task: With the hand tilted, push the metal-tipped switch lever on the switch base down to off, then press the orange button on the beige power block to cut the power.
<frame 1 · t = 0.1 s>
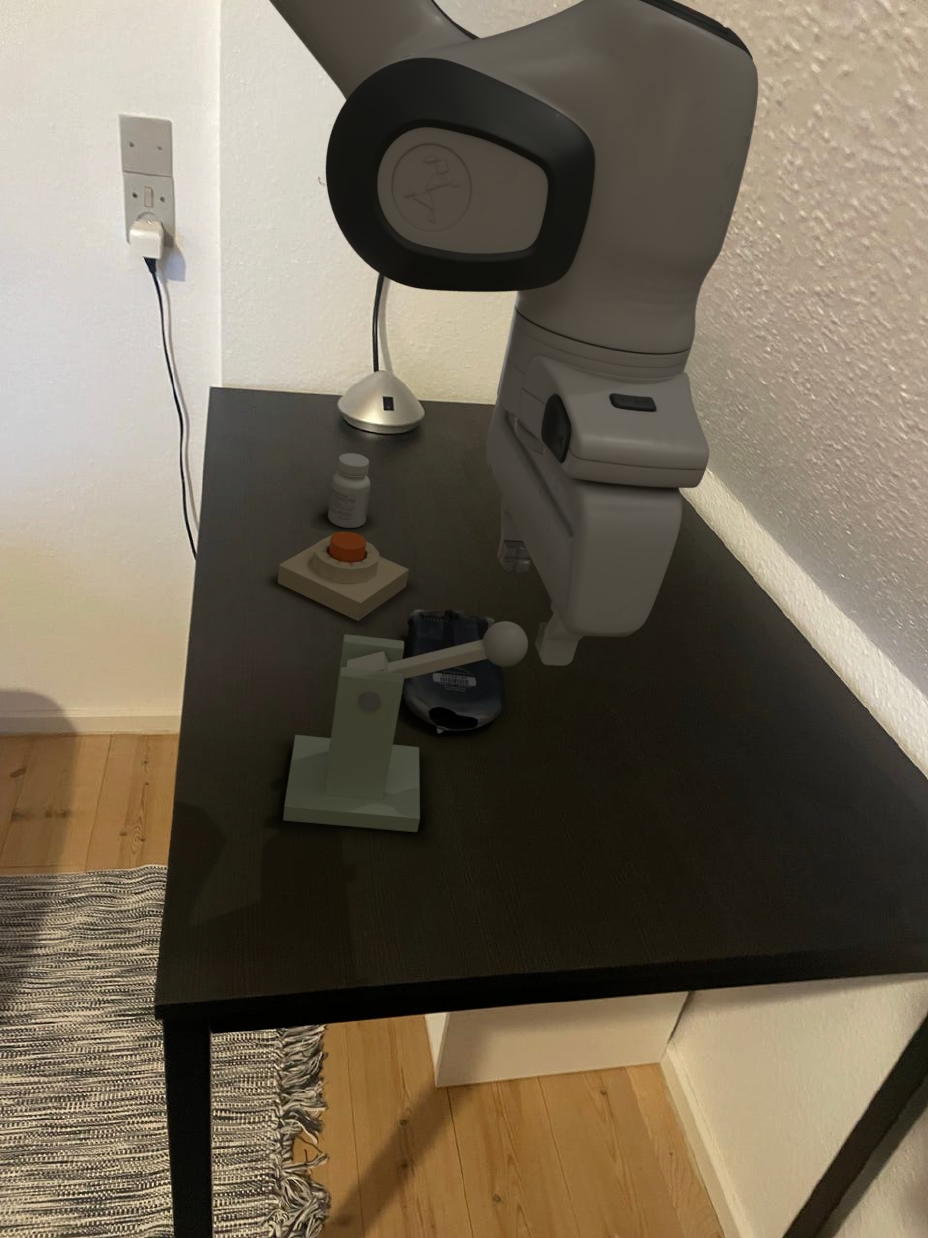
hand: (530, 609, 55), 24 cm above the table, tool pointing down, fingers open, 8 cm apart
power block: (343, 585, 98), on the table
power button: (347, 547, 96), point 4 cm above the table, slide at 0.1 cm
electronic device: (449, 685, 87), on the table
pill bottle: (346, 521, 110), on the table
switch lever: (438, 660, 67), point 13 cm above the table, hinge at 25.0°
switch base: (353, 789, 74), on the table
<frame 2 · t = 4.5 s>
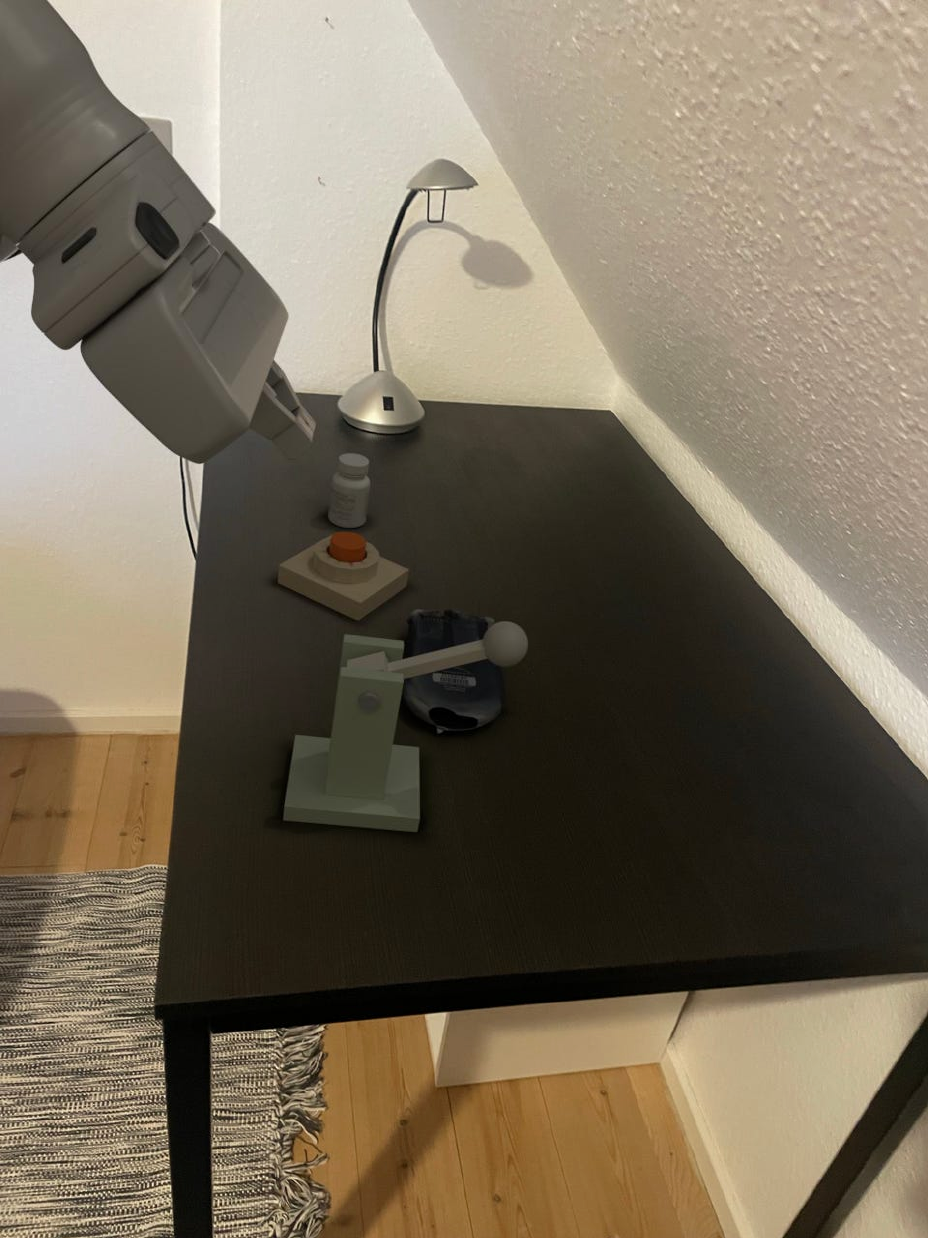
hand: (305, 444, 55), 29 cm above the table, tool tilted 45°, fingers closed
nothing on the table moved.
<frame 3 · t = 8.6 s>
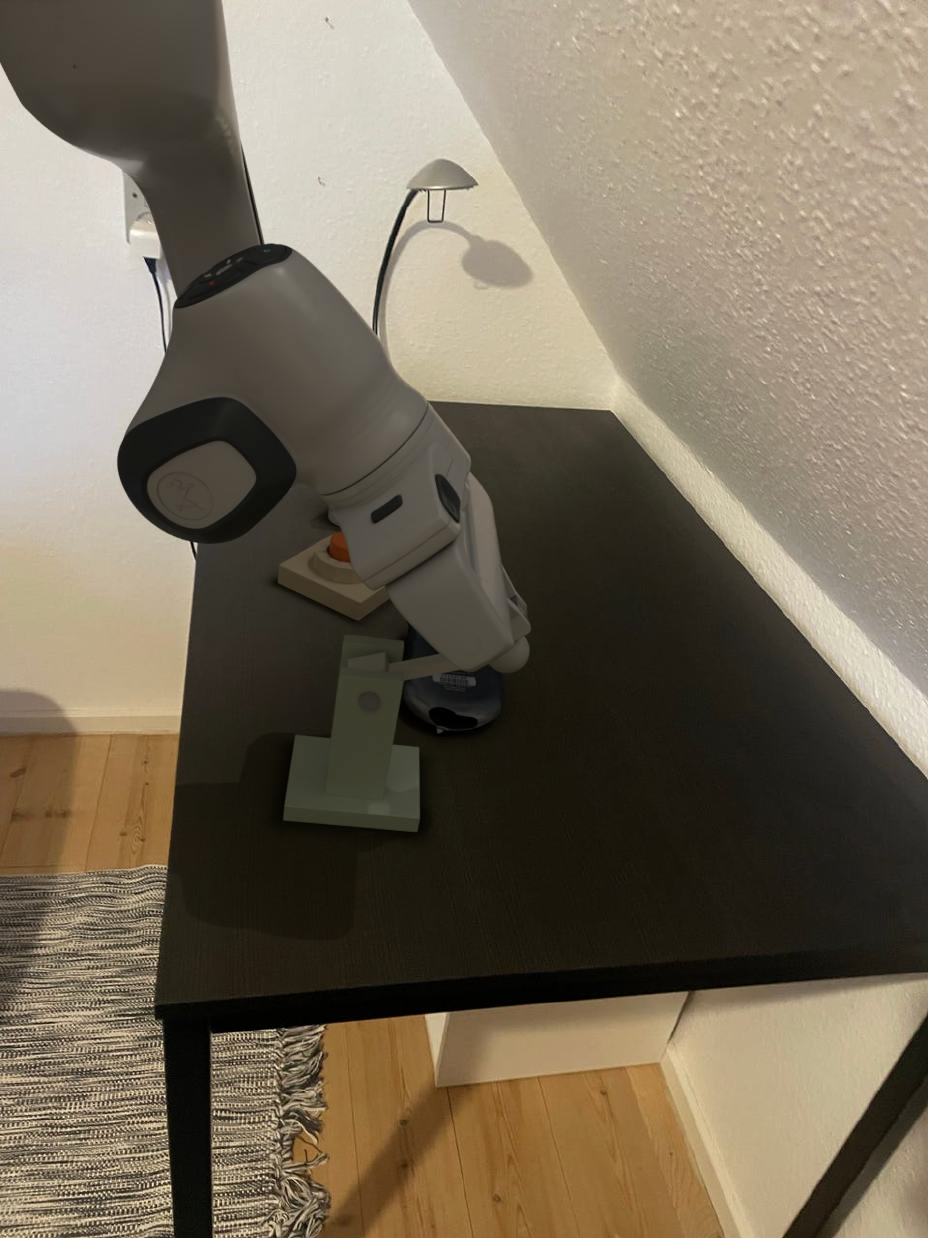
hand: (520, 625, 66), 17 cm above the table, tool tilted 45°, fingers closed, pressing on switch lever
switch lever: (439, 663, 67), point 13 cm above the table, hinge at 21.6°, touching gripper
everything else where it was.
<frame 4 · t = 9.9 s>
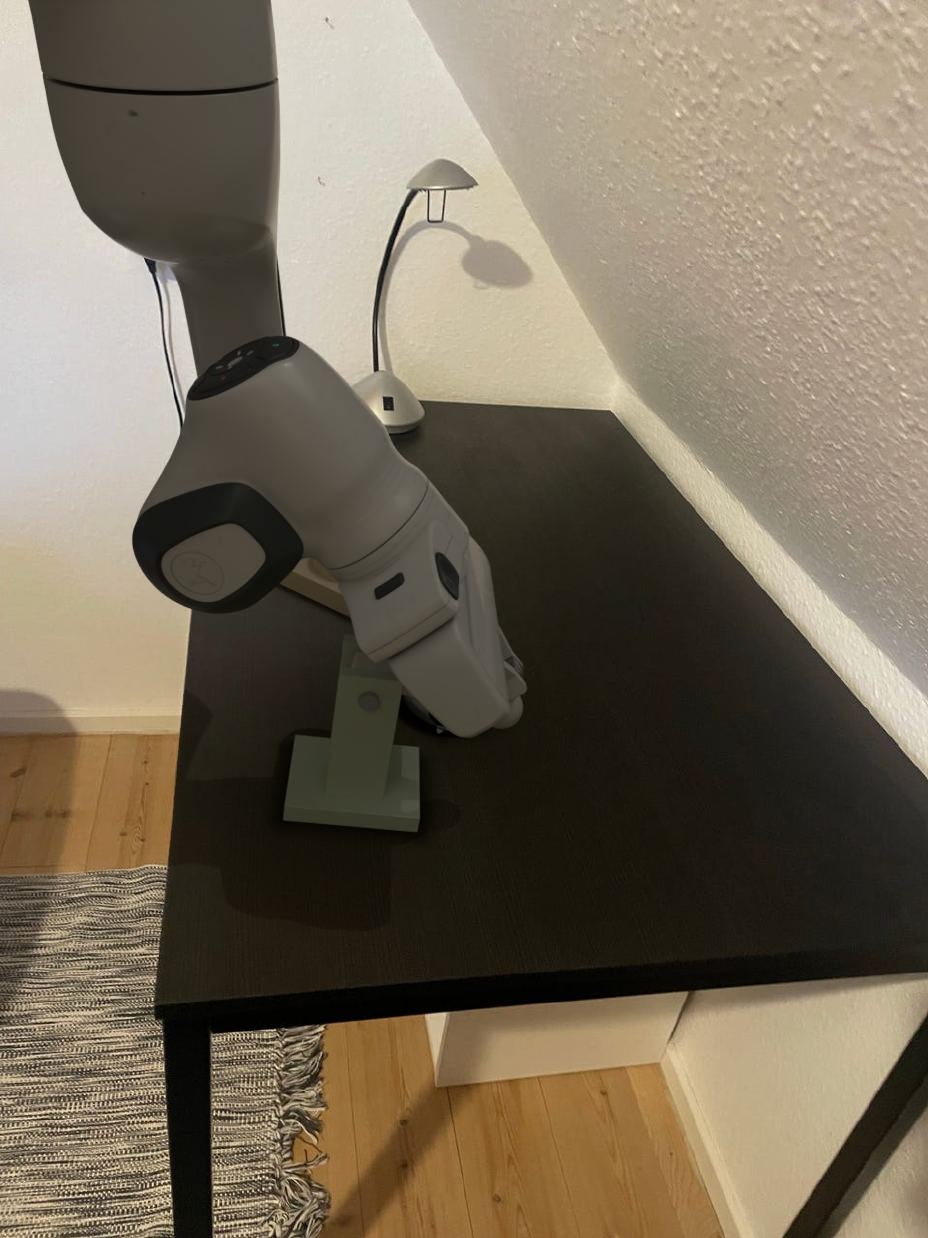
hand: (517, 684, 69), 12 cm above the table, tool tilted 45°, fingers closed, pressing on switch lever
switch lever: (438, 692, 69), point 10 cm above the table, hinge at -8.1°, touching gripper
everything else where it was.
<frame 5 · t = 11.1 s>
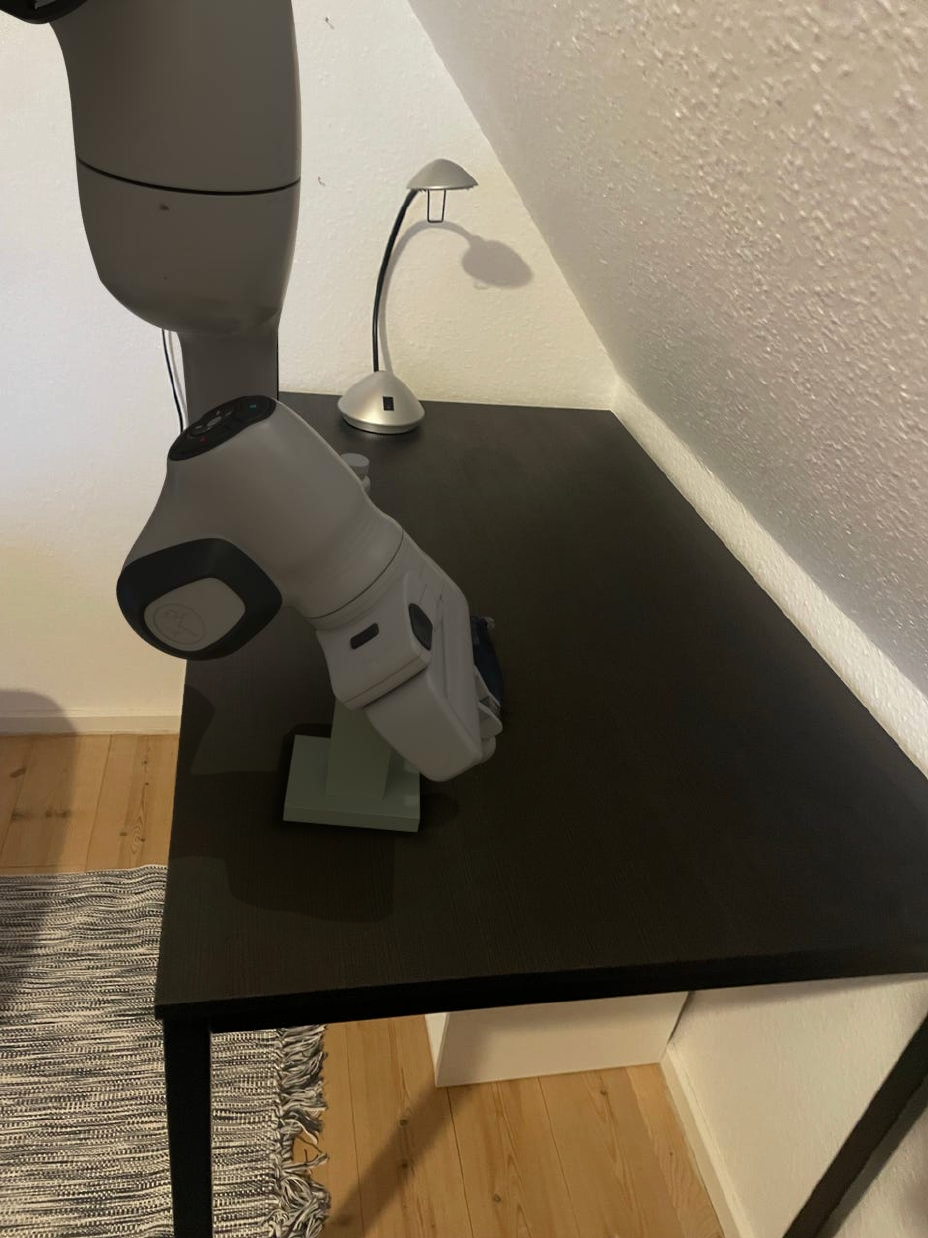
hand: (493, 723, 71), 8 cm above the table, tool tilted 45°, fingers closed, pressing on switch lever
switch lever: (425, 711, 70), point 8 cm above the table, hinge at -30.9°, touching gripper
everything else where it was.
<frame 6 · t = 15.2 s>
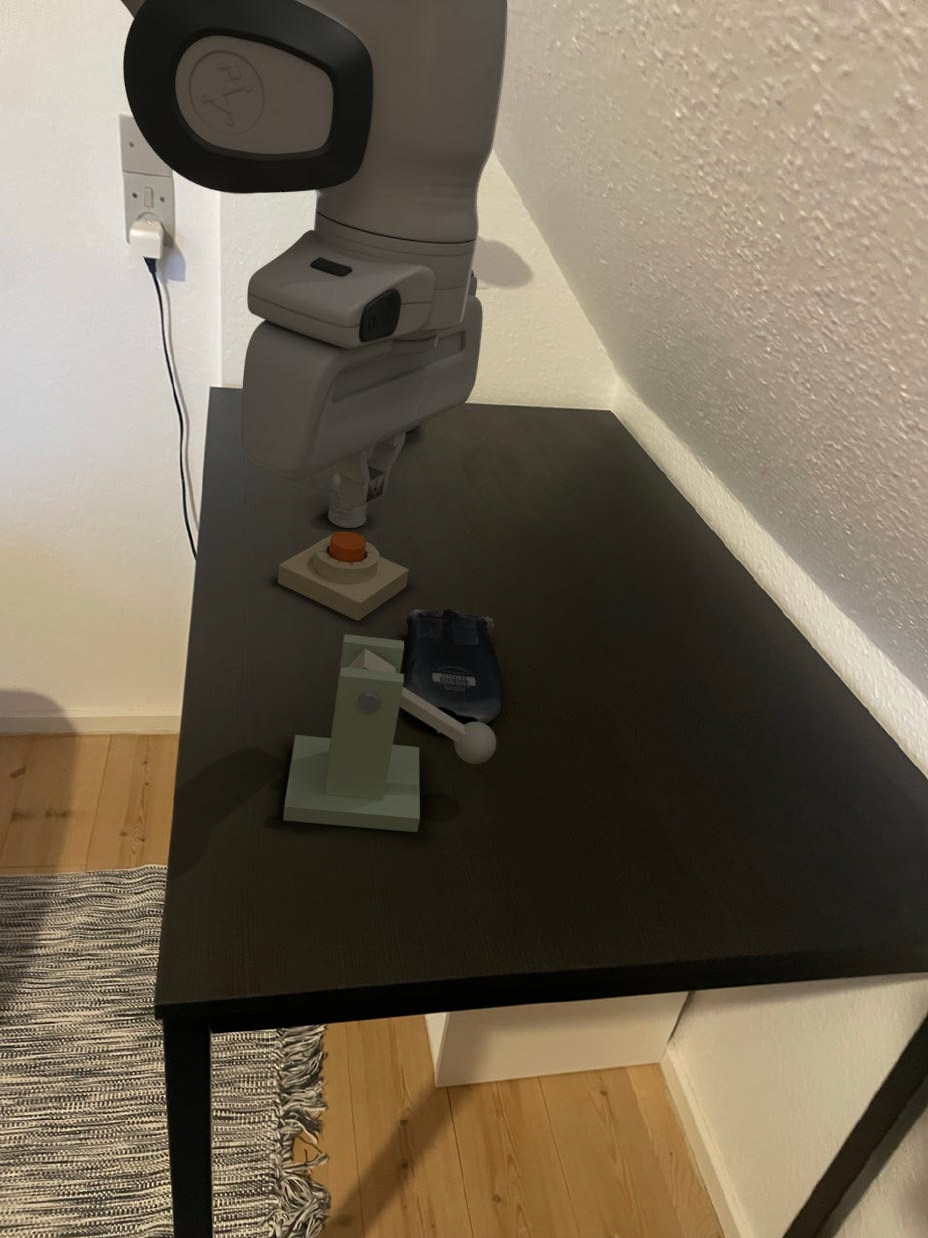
hand: (362, 497, 60), 25 cm above the table, tool pointing down, fingers closed
switch lever: (425, 711, 70), point 8 cm above the table, hinge at -30.6°
everything else where it was.
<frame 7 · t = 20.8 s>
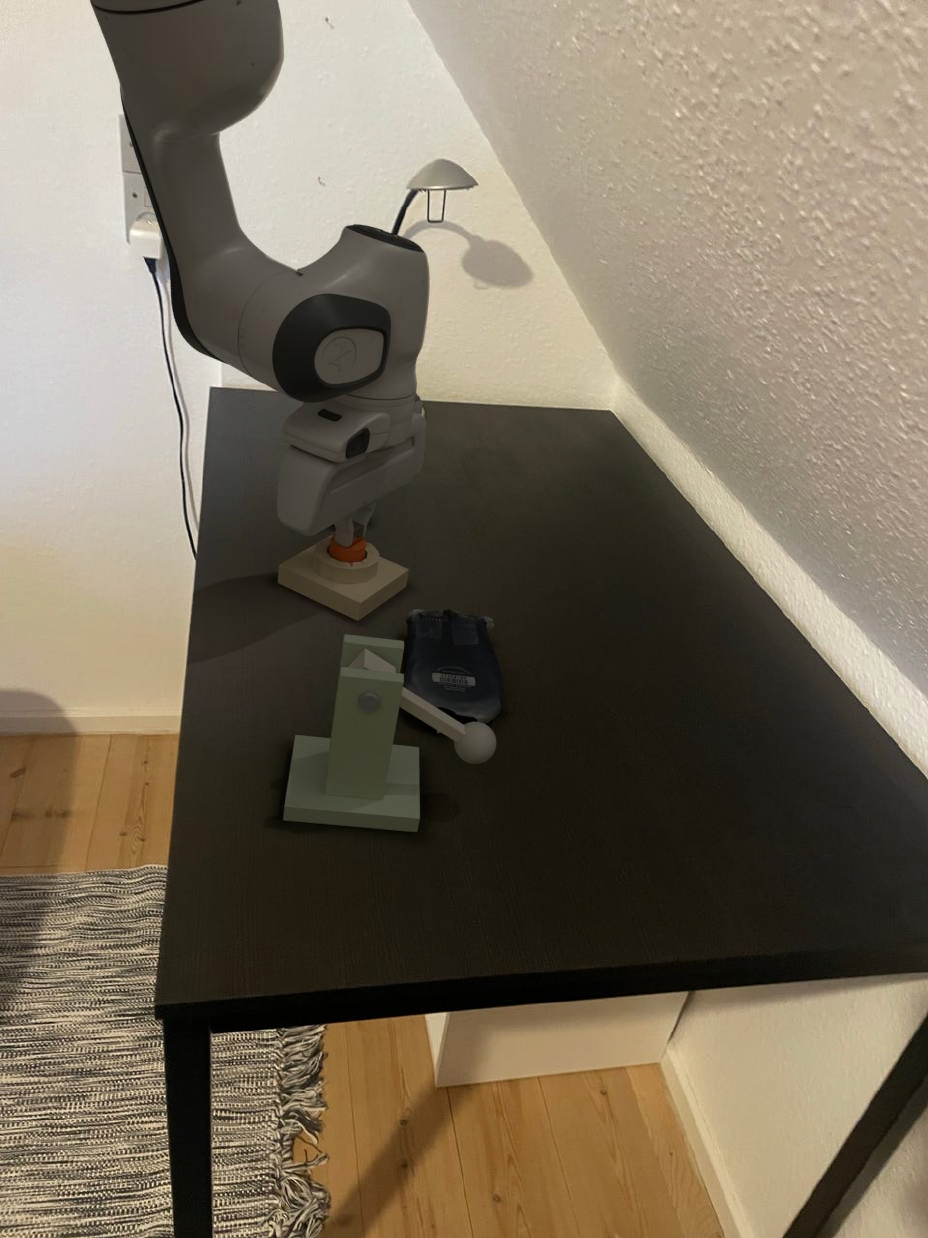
hand: (349, 540, 95), 5 cm above the table, tool pointing down, fingers closed, pressing on power button
power button: (347, 548, 96), point 4 cm above the table, slide at 0.0 cm, touching gripper
everything else where it was.
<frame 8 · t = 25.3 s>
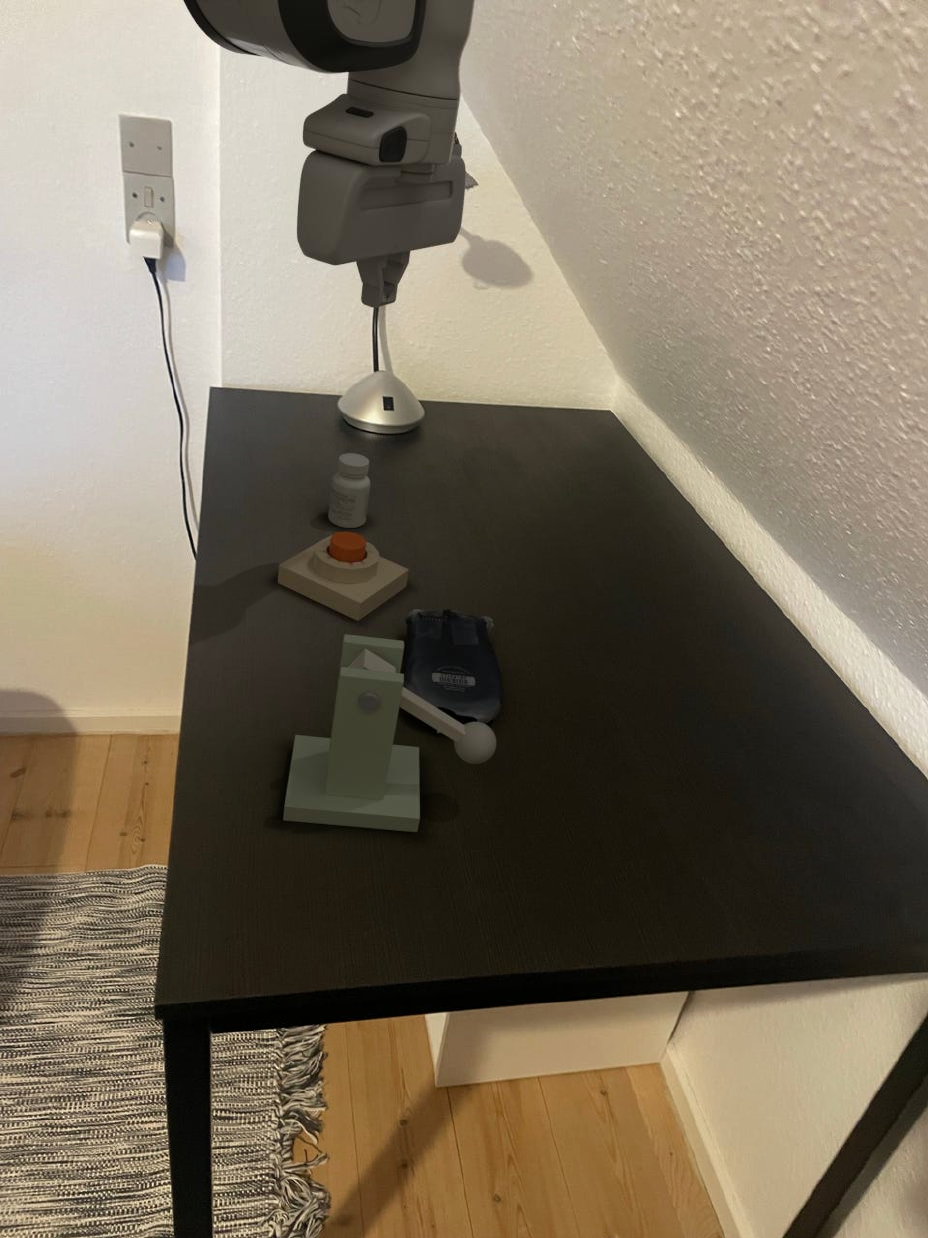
hand: (378, 303, 83), 29 cm above the table, tool pointing down, fingers closed
power button: (347, 547, 96), point 4 cm above the table, slide at 0.1 cm
everything else where it was.
at the end: switch lever at -31° (first picture: +25°); power button pushed in 1.0 cm at the most during the clip, back to where it started at the end; power button slide at 0.1 cm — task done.
